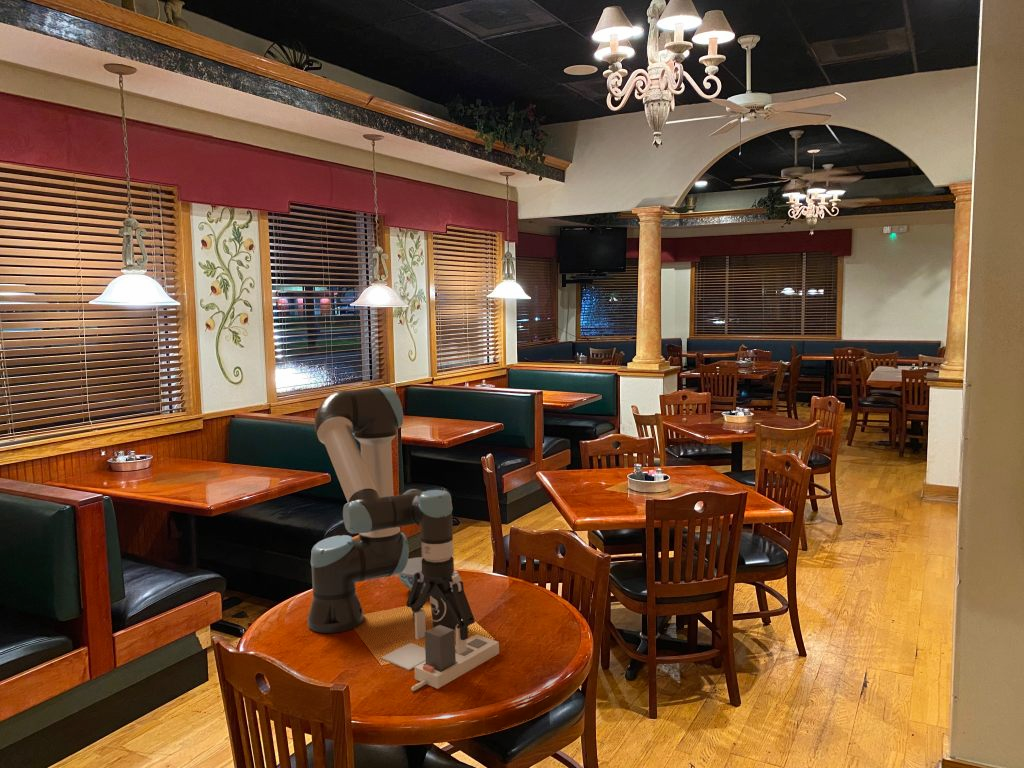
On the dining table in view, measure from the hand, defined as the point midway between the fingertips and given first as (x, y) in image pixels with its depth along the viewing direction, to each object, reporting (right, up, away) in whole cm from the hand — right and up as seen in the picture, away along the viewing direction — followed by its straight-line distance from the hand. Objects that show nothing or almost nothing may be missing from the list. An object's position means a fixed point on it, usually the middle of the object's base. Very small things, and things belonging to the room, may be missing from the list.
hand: (440, 644), depth 181 cm
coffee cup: (-1, -5, +28) cm, 28 cm away
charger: (0, -6, +1) cm, 6 cm away
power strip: (+2, -7, +4) cm, 9 cm away
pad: (-9, -7, +11) cm, 16 cm away
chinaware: (-11, -2, +55) cm, 56 cm away
